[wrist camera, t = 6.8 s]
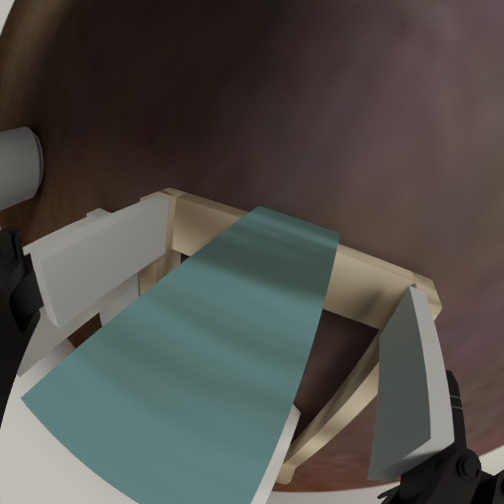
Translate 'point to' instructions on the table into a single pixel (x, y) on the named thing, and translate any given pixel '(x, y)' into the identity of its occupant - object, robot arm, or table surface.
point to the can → (19, 166)
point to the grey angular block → (106, 306)
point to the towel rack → (218, 355)
